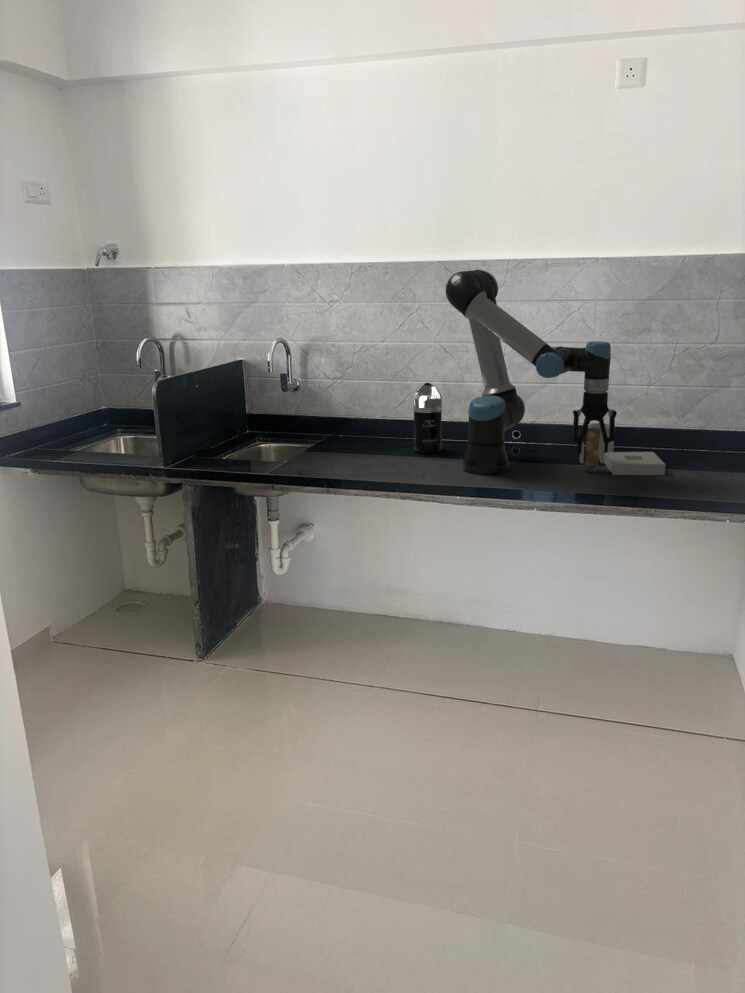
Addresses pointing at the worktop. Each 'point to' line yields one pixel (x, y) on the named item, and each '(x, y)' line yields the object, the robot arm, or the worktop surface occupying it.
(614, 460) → the socket block
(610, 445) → the mug
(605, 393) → the robot arm
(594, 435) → the peg
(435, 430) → the black silver bottle
